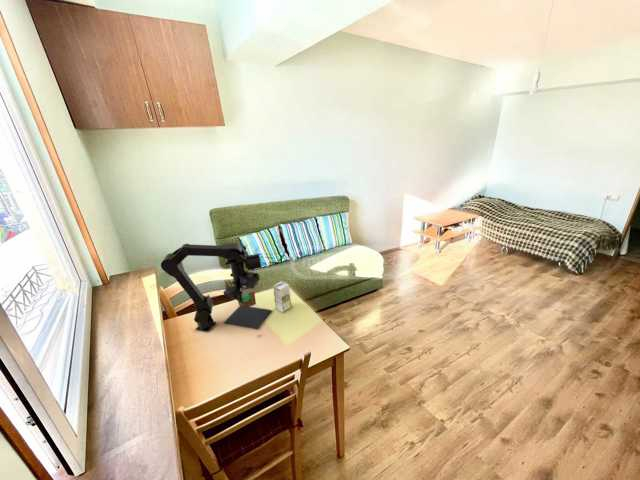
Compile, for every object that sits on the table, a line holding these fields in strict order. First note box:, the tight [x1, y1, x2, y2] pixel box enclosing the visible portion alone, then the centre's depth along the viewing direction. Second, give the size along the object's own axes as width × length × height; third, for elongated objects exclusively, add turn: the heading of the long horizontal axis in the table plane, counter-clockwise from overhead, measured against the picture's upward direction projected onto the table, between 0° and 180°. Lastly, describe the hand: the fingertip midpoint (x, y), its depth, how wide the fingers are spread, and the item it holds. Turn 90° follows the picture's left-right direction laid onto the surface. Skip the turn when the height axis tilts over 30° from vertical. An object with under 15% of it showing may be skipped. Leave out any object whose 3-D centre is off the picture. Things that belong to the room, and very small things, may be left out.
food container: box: [232, 284, 257, 307], centre depth 132 cm, size 12×6×10 cm, turn 60°
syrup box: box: [272, 281, 292, 313], centre depth 143 cm, size 6×6×14 cm
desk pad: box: [223, 305, 272, 330], centre depth 139 cm, size 18×14×1 cm
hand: (244, 299), depth 133 cm, fingers closed on food container, 6 cm apart
